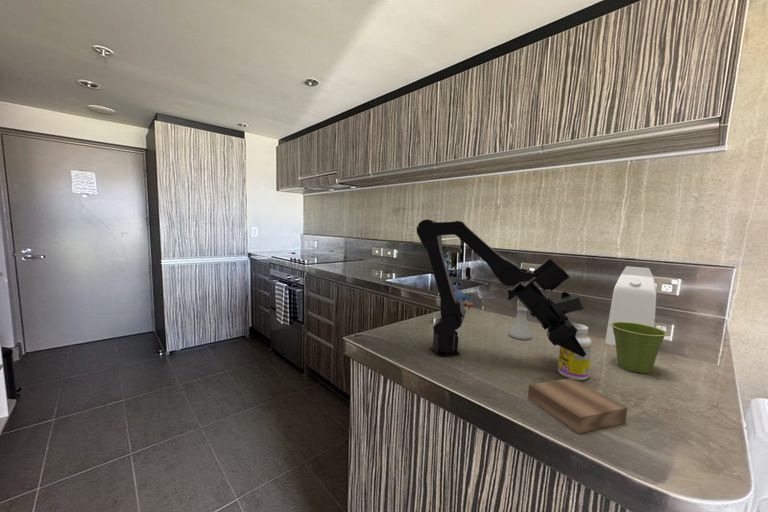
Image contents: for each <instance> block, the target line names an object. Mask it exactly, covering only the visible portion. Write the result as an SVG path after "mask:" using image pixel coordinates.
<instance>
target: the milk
mask: <svg viewBox="0 0 768 512" xmlns="http://www.w3.org/2000/svg"><path fill="white" fill-rule="evenodd" d="M656 307H657V286H656V281H655V277H654V276H653V274H652V272H651V269H650V268H649V267H640V266H639V267H638V266H629V265H628V266H625V267H624V269H623V271H622V272H621V274H620V276H619V278H618V280H617V282H616V284H615V286H614V288H613V292H612V298H611V304H610V310H609V316H608V324H607V327H606V328H607V329H606V334H605V335H606V336H605V339H604V340H605V341H604V343H605V344H607V345H612V346H616V343H615V335H614V332H613V327H612V326H611V323H613V322H630V323H638V324H643V325H648V326H652V327H656V326H655V325H656V310H657V309H656Z"/></svg>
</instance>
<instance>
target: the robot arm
mask: <svg viewBox="0 0 768 512" xmlns="http://www.w3.org/2000/svg"><path fill="white" fill-rule="evenodd" d="M416 234H417V236H418V238H419V241H420V242H421V244H422V246H423V247H424V249H425V250H426V252H427V255H428V259H429V262H430V265H431V269H432V273H433V276H434V280H435V284H436V288H437V291H438V294H439V299H440V318H439V319H438V320H437V322H436V323H435V324H434V325H433V327H432V329H433V336H432V346H429V349H430V350H432V352H434V354H436V355H437V356H439V357H449V356H458V355H460V352H459V351H458V349H459V335H458V334H459V333H458V331H457V330H458V329H459V328H460V327H461V326H462V325H463V323H464V320H465V318H466V313H467V310H466V308H464V305H463V302H464V301H463V299H460V300H458V299H457V298H456V296H455V294H454V289H453V285H452V280H451V277H450V274H449V270H448V267H447V263H446V259H445V256H444V252H443V244H442V241H443V240H442V239H443V238H442V236H451V235H452V236H456V237H458V239H460V240H461V241H462V242H463V243H464V244H465V245H466V246H467V247H469V248H470V249H471V250H472V251H473V252H474V253H475V254H476V255H477V256H478V257H479V258H480V259H482V260H483V261H484V262H485V263H486V264H487V266H488V267H489V268H490V269H491V271H492V272H493V274H494V275H495V276H496V277H497V280H499V281H500V283H501V284H502V285H504V286H506V287H513V288H507V290H506V291H507V300H509V301H511V300H512V299H513V298H515V297H516V299H517V300H518V301H519V302H520V303H521V304H522V305H523V307H524V308H526V309H528V310H527V312H529V313H530V316H532V317H533V318H534V319H535V320H536V321H537V322H538V323H539V324H540V325H541V327H542V328H543V330H544V331H545V330H546V336H547V339H548V341H549V342H550V343H551V344H552V345H553V346H554V347H555V346H559V347H560V346H561V347H563V348H565V349H567V350H569V351H571V352H573V353H575V354H577V355H579V356H581V357H584V356H586V353H585V351H584V350H583V348H582V347H581V345H580V344H579V342H578V340H577V339H576V337H575V336H576V332H577V331H578V330H577V329H576V327H575V326H574V325H573V324H572V323H573V322H571V321H570V320H569V317H568V316H567V315H566V314H569V313H573V312H576V311H578V312H579V311H583V310H584V309H585V307H584V304H583V302H582V300H581V297H580V296H579V295H578V294H576V293H575V294H574V293H572V294H570V293H569V292H567V291H566V290H565V291H562V292H559V297H558V298H556V299H554V300H552V299H551V297H547V296H546V295H545V293H544V292H546V291H550V292H552V291H554V290H555V289H557V288H558V287H560V286H561V285H562V284H564V283H565V282H566V281H568V280H570V279H571V277H570V276H569V274H568V273H567V272H566V271H565V270H564V269H563V268H562V267H561V266H559V265H558V264H557V263H556V262H555V261H553V260H552V258H550V257H549V258H547V259H546V260H544V262H543V263H542V264H540V265H539V266H538V267H536V268H535V269H534V270H530V269H525V268H520V267H519V266H518V265H517V264H516V263H514V262H513V261H512V260H510V259H508V258H507V257H505V256H503V255H501V254H499V253H498V252H496V251H495V250H494V249H493V248H492V247H491V246H490V245H488V244H487V243H486V242H485V241H484V240H483V239H482V238H481V237H479V236H478V235H477V234H476V233H475V232H474V231H473V230H471V229H470V228H469V227H468V226H467V225H466V223H465V222H463V221H462V220H454V221H443V222H442V221H440V222H437V221H435V220H432V219H423V220H421V221H420V222H419V223H418V224H417V226H416ZM522 282H525V283H524V284H523V283H522ZM535 283H536V284H537V285H538V286H539V287H541V289H542V290H543V291H544V292H542V290H540V288H539V287H538V286H537V285H536V284H535ZM514 286H515V287H514Z"/></svg>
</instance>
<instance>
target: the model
mask: <svg viewBox="0 0 768 512" xmlns="http://www.w3.org/2000/svg"><path fill="white" fill-rule="evenodd" d="M452 287H453V291H454V294H455V296H456V298H457V299H458V300H460V299H463V305H464V307H472V306H474V307H475V305H474V304H473V302H472V292H467V293H466V295H465V293H464V292H463V291H462V290H459V289H458V287H457V285H456V284H454V285H452ZM472 308H473V307H472Z"/></svg>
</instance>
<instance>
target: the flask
mask: <svg viewBox="0 0 768 512" xmlns="http://www.w3.org/2000/svg"><path fill="white" fill-rule="evenodd" d="M516 310H517V314H516V317H515V320H514V322H513V324H512V327H511V328H510V331H509V332H508V336H509V337H512V338H513V339H517V340H521V341H523V340H524V341H525V340H526V341H527V340H531V339H532V338H533V336H532V332H531V330H530V327H529V323H528V319H527V312H528V309H527V308H526V307H517V308H516Z"/></svg>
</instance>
